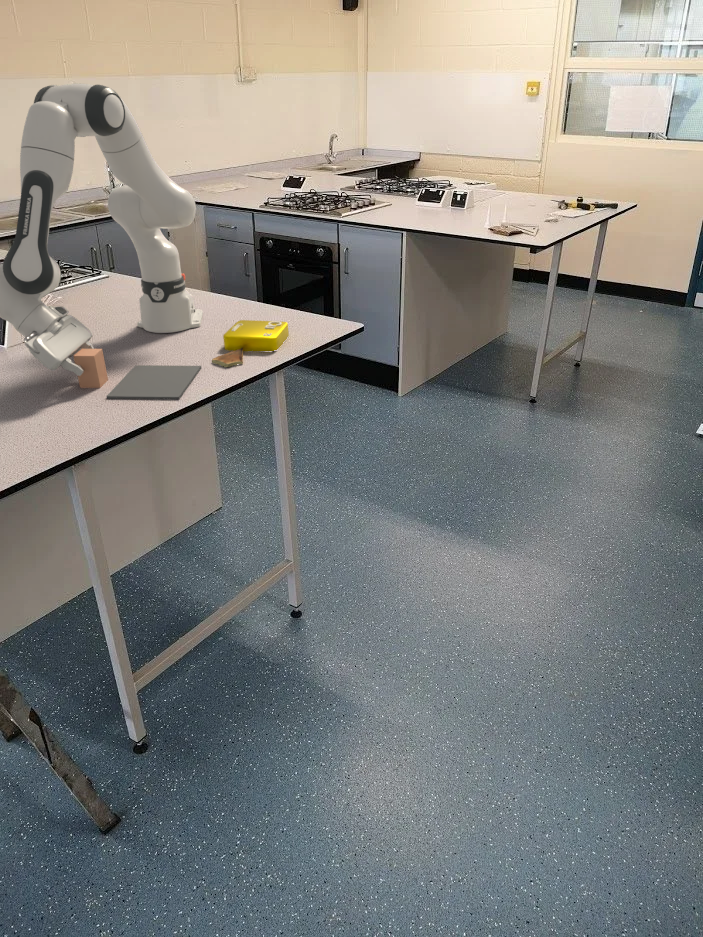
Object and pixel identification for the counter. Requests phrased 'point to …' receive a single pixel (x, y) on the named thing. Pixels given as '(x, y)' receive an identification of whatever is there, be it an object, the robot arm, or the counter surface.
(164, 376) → the charcoal mat
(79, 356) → the terracotta block
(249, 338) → the element tile
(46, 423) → the counter surface
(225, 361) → the shard
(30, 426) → the counter surface
